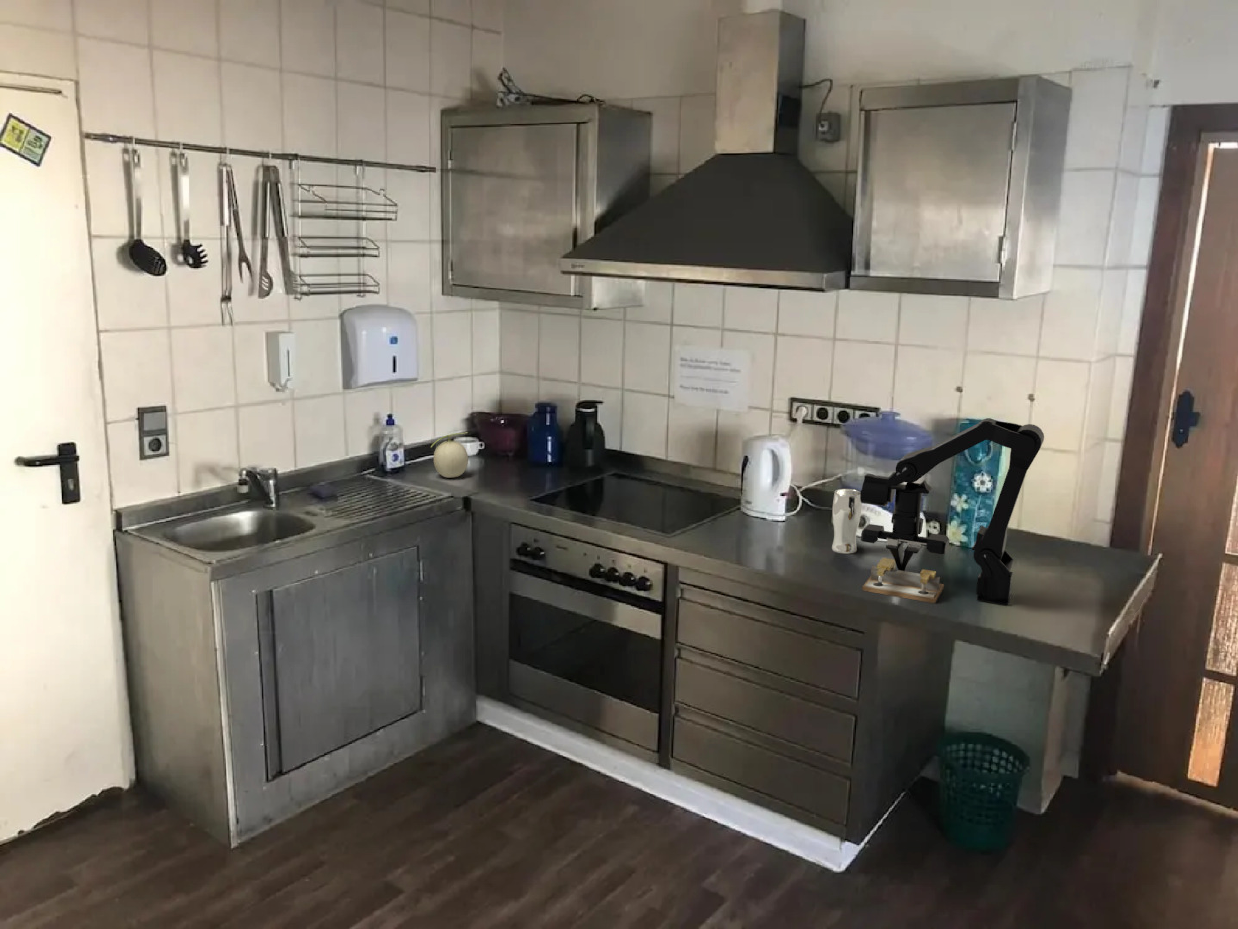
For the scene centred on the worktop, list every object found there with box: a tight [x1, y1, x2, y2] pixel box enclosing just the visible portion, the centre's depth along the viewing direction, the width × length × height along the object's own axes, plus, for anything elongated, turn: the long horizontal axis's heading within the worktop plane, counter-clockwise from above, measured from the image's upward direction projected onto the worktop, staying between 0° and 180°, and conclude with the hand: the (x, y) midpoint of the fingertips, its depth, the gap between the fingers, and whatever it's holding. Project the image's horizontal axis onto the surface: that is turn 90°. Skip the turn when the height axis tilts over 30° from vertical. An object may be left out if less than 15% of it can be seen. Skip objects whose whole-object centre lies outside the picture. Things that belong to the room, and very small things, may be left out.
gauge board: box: [861, 565, 945, 604], centre depth 231 cm, size 16×10×5 cm, turn 63°
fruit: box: [430, 431, 469, 479], centre depth 319 cm, size 10×12×15 cm
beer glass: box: [831, 488, 863, 555], centre depth 256 cm, size 7×7×15 cm
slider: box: [876, 557, 897, 585], centre depth 234 cm, size 3×9×4 cm, turn 153°
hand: (901, 574), depth 235 cm, fingers closed
